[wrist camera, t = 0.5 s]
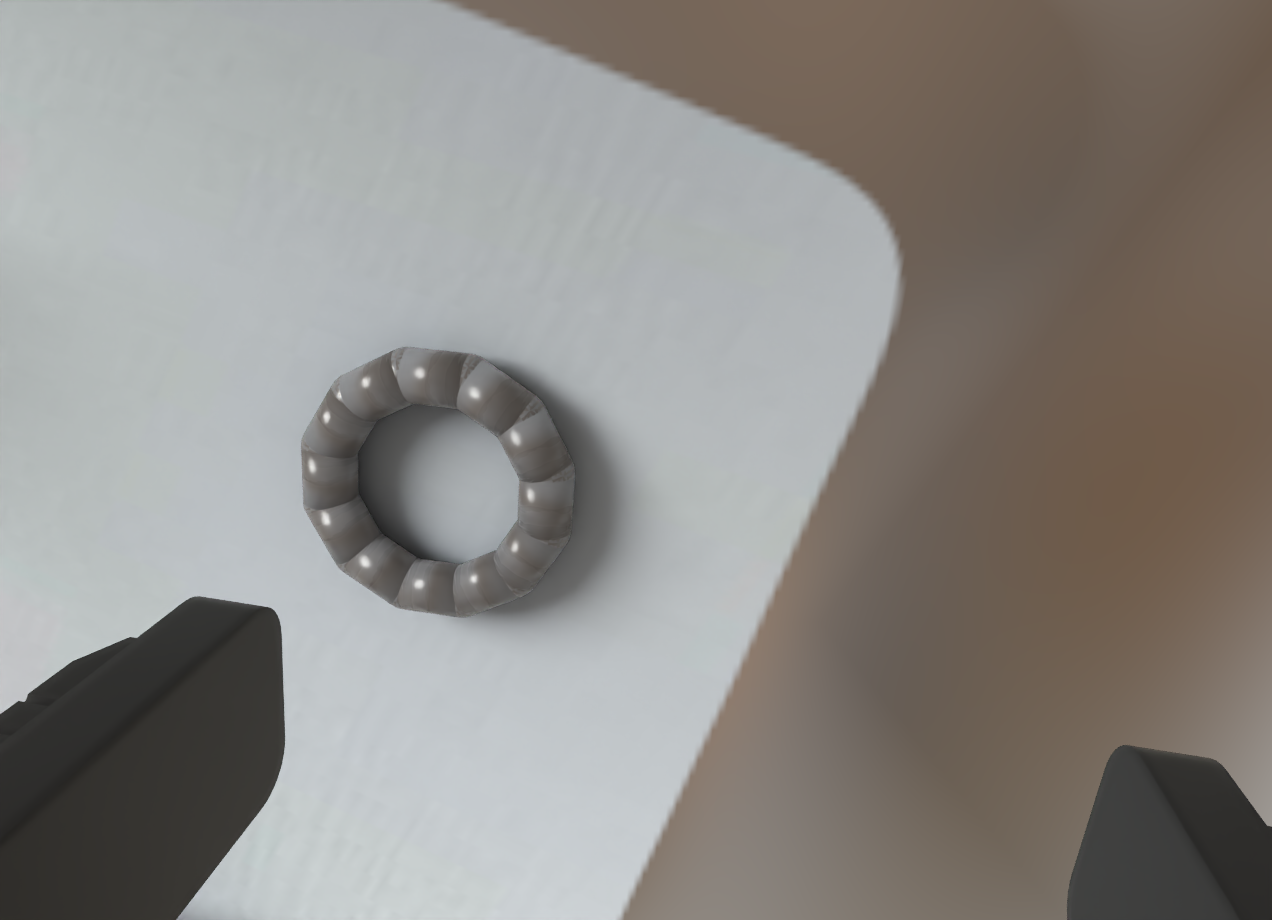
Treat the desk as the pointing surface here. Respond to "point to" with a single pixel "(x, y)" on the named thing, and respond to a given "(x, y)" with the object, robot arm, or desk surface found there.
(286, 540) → the desk surface
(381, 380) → the grey beaded ring
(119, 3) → the desk surface
